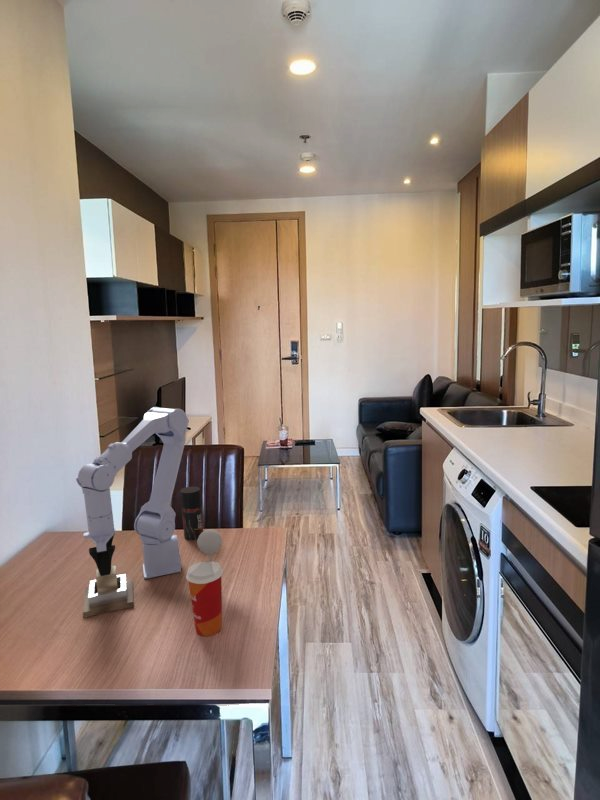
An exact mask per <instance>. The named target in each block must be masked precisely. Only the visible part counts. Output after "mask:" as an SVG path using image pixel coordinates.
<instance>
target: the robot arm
mask: <svg viewBox="0 0 600 800" xmlns="http://www.w3.org/2000/svg"><path fill="white" fill-rule="evenodd" d="M189 421H190V420H189V417H188V416H187V414H186V412H185V411H184V410H183V409H181V408H170V407H169V408H168V407H167V408H166V407H159V406H153V407H151V408H150V409H149V410H148V411H147V412H145V413H144V415H143V418H142V420H141V421H140V422H139V423H138V425H136V427H134V429H132V431H131V432H130V433H129V434H128V435H127V436H126V437H125V438H124V439H123V440H122V441H121V442H118V441H116V442H113V443H110V444H109V445H108V446H107V448H106V449H105V450H104V451H103V452H102V454H100V455H99V456H98V457H96V458H94V459H93V462H92V463H86V464H85V465H84V466H82V467H81V468H80V469H79V472H78V473H77V474H78V475H77V477H76V478H75V480H76V483H77V485H78V486H79V487H80V488H81V490H82V494H83V497H84V506H85V514H86V515H85V516H86V522H87V529H88V531H86V532H84V533H83V539H89V540H90V541H91V542H93V543H94V544H95V546H93V547H89V548H88V553H89V556H90V557H91V558H92V559H93V561H94V562H95V565H96V567H97V568H96V569H98V570H99V573H100V575H101V576H104V575H109V574H110V572H111V566H112V560H113V559H112V558H113V555H114V552H115V550H116V545H115V544H113V540H114V537H115V535H116V528H115V524H114V522H115V521H114V513H113V506H112V495H111V487H112V485H113V484H114V481H115V477H116V476H117V474H118V473H119V471H121V470H122V469H123V468H124V467H125V466H126V465H127V464H128V463H129V462H130V461H131V460H132V458H133V452H134V451H135V450H136V449H137V448H138V447H140V446H141V445H142V444H143V443H144V442H145V441H147V440H148V439H149V438H150V437H152V436H153V435H154V434H155V435H157V437H159V438H160V440H161V441H162V443H163V446H162V451H161V453H160V459H159V462H158V466H157V470H156V474H155V478H154V482H153V485H152V490H151V493H150V497H149V500H148V501H147V502H146V503H144V505H142V506H141V507H140V511H139V513H138V515H137V516H136V518H135V520H134V524H133V528H134V531H135V533H136V534H137V535H139V538H140V540H141V542H142V543H141V546H142V556H143V564H142V572H143V579H146V580H147V579H151V578H157V577H160V576H161V577H162V576H166V575H170V574H171V575H172V574H175V573H181V571H182V568H181V560H182V559H181V554H180V545H179V539H178V535H177V534H174V533H175V529H176V522H175V521H176V515H177V514H176V512H175V510H174V509H173V507H172V506H171V501H172V498H173V494H174V490H175V486H176V482H177V477H178V474H179V473H178V472H179V469H180V465H181V461H182V457H183V452H184V448H185V446H186V445H185V444H186V433H187V429H188V425H189Z"/></svg>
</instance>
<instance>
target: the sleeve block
mask: <svg viewBox="0 0 600 800" xmlns="http://www.w3.org/2000/svg"><path fill="white" fill-rule="evenodd" d="M95 574H96V575H95V580H96V582H97V591H98V593H101V592H106V591H111V590H116V589H118V582H117V575H118V573H117V566H116V565H111V572H110V574H109V575H104V576H101V575H100V573H99V570H98V568H96V572H95Z"/></svg>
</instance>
